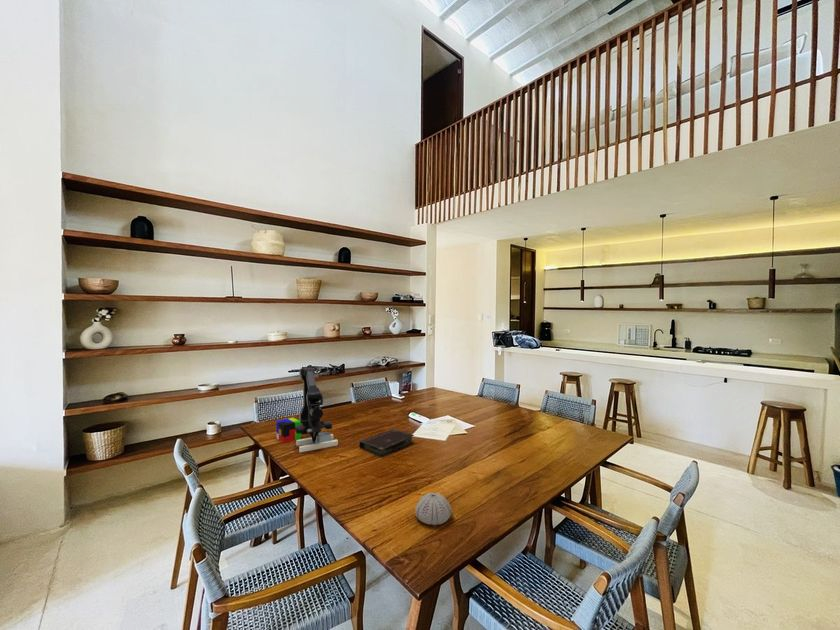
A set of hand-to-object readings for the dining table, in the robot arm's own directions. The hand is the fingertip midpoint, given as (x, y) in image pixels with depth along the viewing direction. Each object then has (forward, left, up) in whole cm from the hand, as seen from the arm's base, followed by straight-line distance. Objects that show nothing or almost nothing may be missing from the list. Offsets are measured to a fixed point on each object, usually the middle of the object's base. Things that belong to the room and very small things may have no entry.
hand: (313, 442), depth 188 cm
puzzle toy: (-18, -11, -2) cm, 21 cm away
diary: (+19, +36, -2) cm, 40 cm away
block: (0, +5, -2) cm, 6 cm away
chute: (0, +2, -2) cm, 2 cm away
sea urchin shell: (+86, +25, -2) cm, 89 cm away
